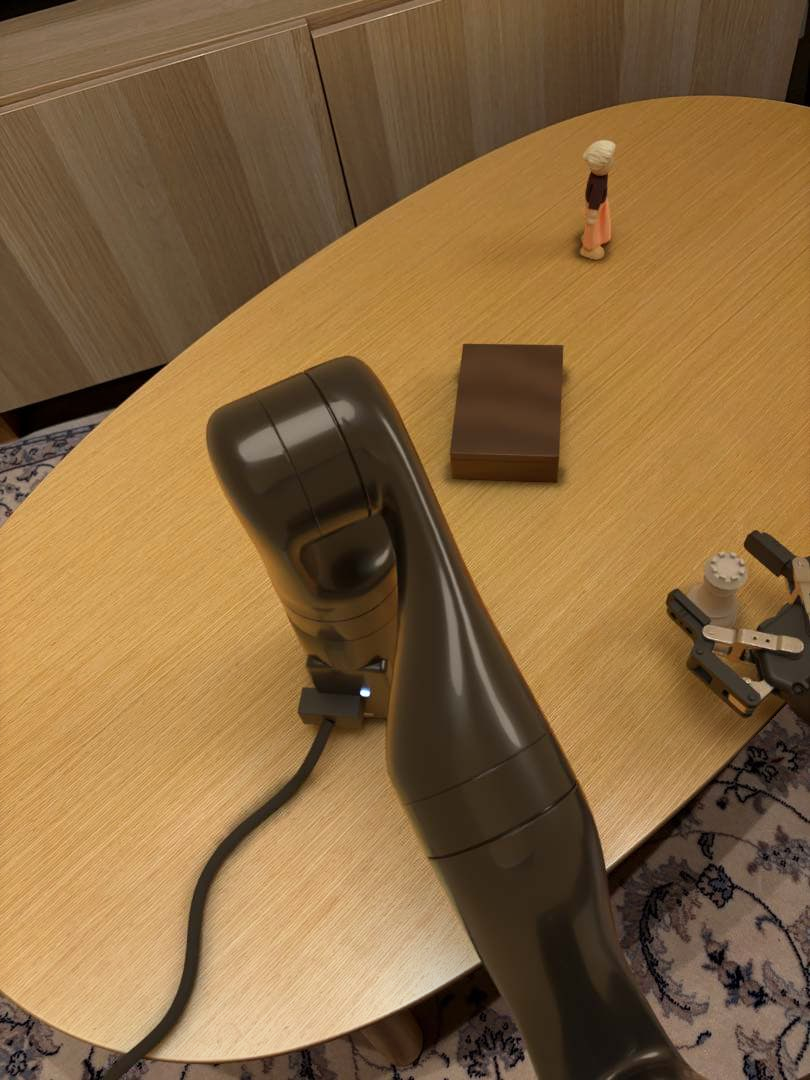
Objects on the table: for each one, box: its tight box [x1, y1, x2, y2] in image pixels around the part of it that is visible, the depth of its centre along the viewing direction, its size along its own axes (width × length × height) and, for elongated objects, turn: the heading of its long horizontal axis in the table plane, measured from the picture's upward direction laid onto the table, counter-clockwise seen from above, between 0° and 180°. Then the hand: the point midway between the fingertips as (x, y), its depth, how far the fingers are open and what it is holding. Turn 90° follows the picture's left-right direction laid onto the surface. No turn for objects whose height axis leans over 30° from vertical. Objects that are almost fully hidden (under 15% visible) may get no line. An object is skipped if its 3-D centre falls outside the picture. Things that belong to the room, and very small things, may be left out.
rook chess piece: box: [685, 550, 749, 629], centre depth 70 cm, size 4×4×8 cm
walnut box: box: [449, 343, 564, 483], centre depth 85 cm, size 14×10×4 cm
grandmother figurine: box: [579, 139, 616, 260], centre depth 94 cm, size 8×4×13 cm, turn 179°
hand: (710, 565), depth 69 cm, fingers open, 8 cm apart
